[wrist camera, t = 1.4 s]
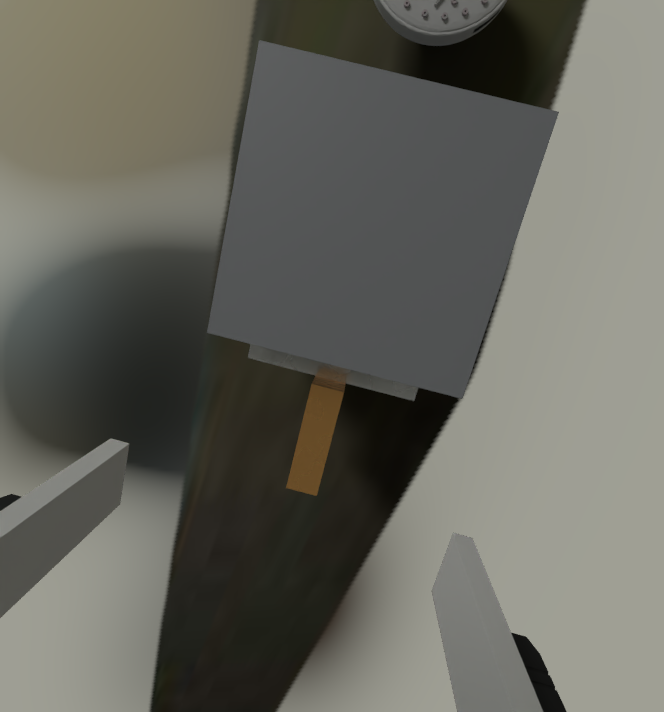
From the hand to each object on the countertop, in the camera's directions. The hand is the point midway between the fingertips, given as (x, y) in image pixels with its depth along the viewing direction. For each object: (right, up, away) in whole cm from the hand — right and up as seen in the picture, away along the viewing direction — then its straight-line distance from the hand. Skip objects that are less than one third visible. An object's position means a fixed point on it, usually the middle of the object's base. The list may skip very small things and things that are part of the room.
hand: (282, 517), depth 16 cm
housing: (+5, +15, +18) cm, 24 cm away
